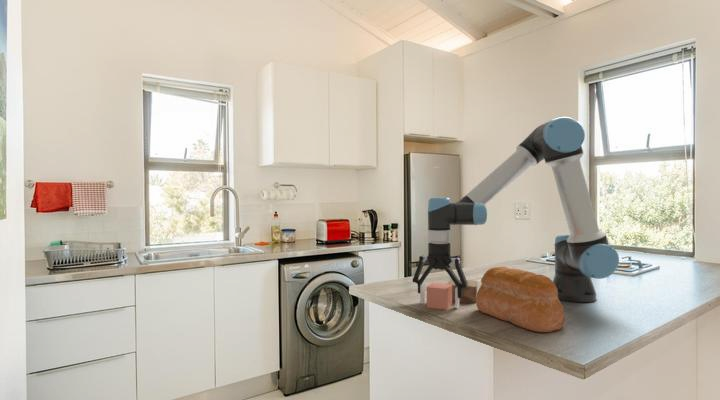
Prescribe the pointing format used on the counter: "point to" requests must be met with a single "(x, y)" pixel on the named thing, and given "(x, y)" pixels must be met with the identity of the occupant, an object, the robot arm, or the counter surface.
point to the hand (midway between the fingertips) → (439, 305)
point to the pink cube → (439, 296)
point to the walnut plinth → (466, 291)
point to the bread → (521, 299)
